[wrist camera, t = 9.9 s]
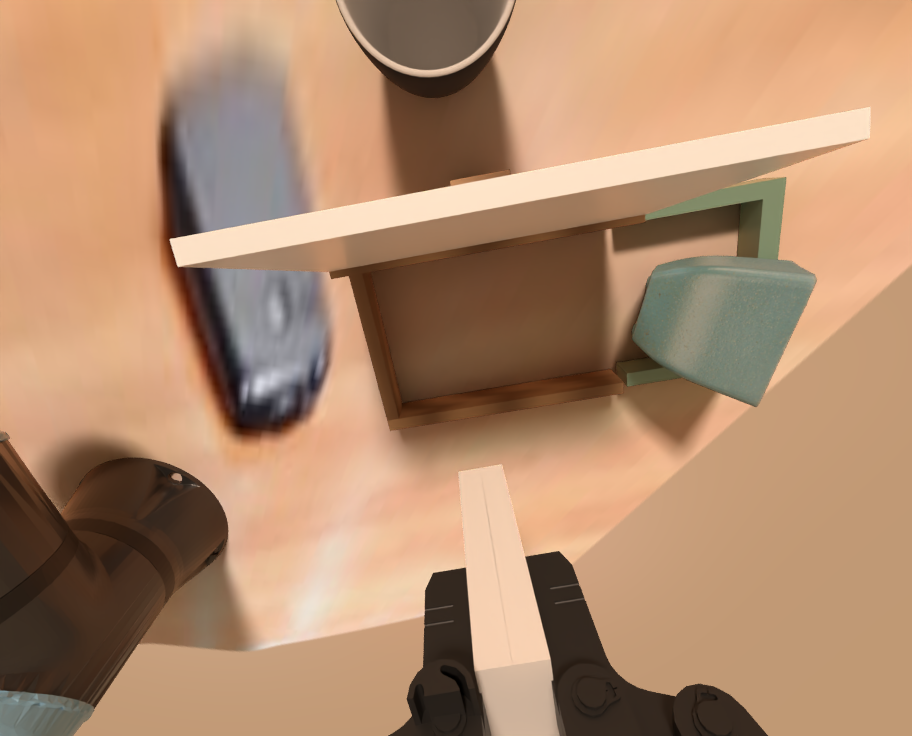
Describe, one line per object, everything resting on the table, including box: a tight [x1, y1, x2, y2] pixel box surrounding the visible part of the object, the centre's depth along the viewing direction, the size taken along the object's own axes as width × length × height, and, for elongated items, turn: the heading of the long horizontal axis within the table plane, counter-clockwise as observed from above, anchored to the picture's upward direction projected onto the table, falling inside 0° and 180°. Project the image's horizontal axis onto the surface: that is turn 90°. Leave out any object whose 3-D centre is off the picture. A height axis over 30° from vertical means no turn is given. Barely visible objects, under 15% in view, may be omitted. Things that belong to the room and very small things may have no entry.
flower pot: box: [632, 256, 817, 407], centre depth 31 cm, size 9×9×9 cm
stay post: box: [450, 169, 510, 186], centre depth 27 cm, size 3×2×12 cm, turn 100°
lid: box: [170, 107, 871, 272], centre depth 19 cm, size 20×14×1 cm
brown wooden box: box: [329, 215, 645, 431], centre depth 33 cm, size 20×15×8 cm
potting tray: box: [616, 177, 786, 387], centre depth 34 cm, size 12×14×2 cm
